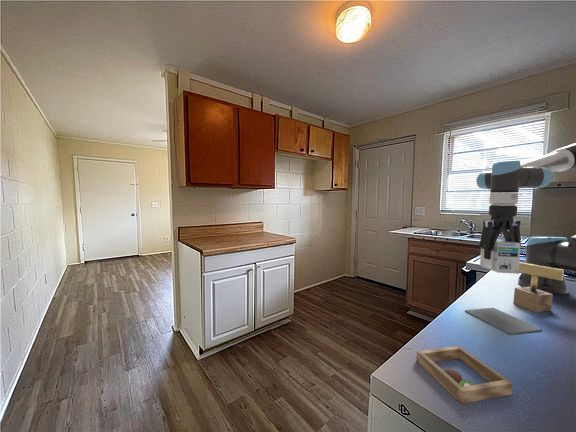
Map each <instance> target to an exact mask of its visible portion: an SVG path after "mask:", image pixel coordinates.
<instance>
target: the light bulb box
mask: <svg viewBox="0 0 576 432" xmlns="http://www.w3.org/2000/svg"><path fill="white" fill-rule="evenodd" d="M492 251H494V265H493V269H490V268H486V267H484V249H481V248H480V260H479V261H480V262H479V266H480V267H482V268H484V269H487V270H490V271H492V272H495V273H497V274H499V273H501V274H502V273H503V274H517V275H519V274H520V272H519V265H520V262H521V261H520V259H521V247H520V243H515V242H510V241H505V239H504V240H503V239H497V240H496V242H495V245H494V247H493V249H492Z"/></svg>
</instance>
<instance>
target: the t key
mask: <svg viewBox="0 0 576 432" xmlns="http://www.w3.org/2000/svg"><path fill="white" fill-rule="evenodd" d="M564 272H565V270H563V269H557V268H551V267H545V266H539V265H534V264H528V263H525V262H521V261H520V265H519V274H520V273H525V274H530V275H532V278H531V287H530V289H531V290H537V282H538V276H540V277H546V278H551V279H556V280H561V281H562V280H563V275H564Z"/></svg>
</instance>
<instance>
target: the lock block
mask: <svg viewBox="0 0 576 432" xmlns="http://www.w3.org/2000/svg"><path fill="white" fill-rule="evenodd" d="M513 293H514V294H513V304H514V305H517V306H519V307H522V308H524V309H527V310H528V311H529V310H530V311H532V312H535V313H539V312H541V313H542V312H549V311H550V312H551V311H552V309H553V307H552V305H553V297H554V294H551V293H548V292H544V291H541V290H538V289H537V290H531V289H530V287H523V286H521V287H514V292H513Z"/></svg>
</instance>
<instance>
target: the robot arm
mask: <svg viewBox="0 0 576 432" xmlns="http://www.w3.org/2000/svg"><path fill="white" fill-rule="evenodd" d="M569 170H576V142H575V143H571V144H569V145H567V146H563V147H560V148H556V149H555V150H552V151H550V152H549V153H548V154H545V155H543V156H539V157H536V158H532V159H528V160H525V161H522V162H521V161H520V160H517V159H515V160H514V159H510V160H508V159H507V160H498V161H495V162H493V164H492V166H491V170H487V171H482V172H480V173H479V174H478V175H477V177H476V186H478V188H479V189H482V190H490V191H489V201H488V202H489V206H488V216H491V218H490V220H484V221H482V232H481V236H480V241H479V245H478V247H479V249H480V250H481V249H484V267H483V268H485V267H486V268H485V269H487V268H490V269H493V265H494V251H492V249H493V247H494V245H495V242H496V240H498V239H499V236H500V234H501V233H502V235H503V239H504V241H510V242H515V243H520V248H521V246H522V242H521V223H522V222H521V220H520V219H518V220H517V219H514V217H516V216H517V215H518V206H517V205H518V204H519V203H518V202H519V201H518V200H519V189H541V188H545V187H547V186H549V184H551V182H552V181H553V174H554V173H553V172H557V173H558V172H560V173H561V172H565V171H569ZM527 240H528V241H527V243H526V253H525V262H524V263H528V264H534V265H539V266H545V267H551V268H557V269H563V270H564V271H567V272H568V271H569V272H571V273H572V272H573V273H576V234H575V235H572V236H570V239H568V237H564V236H530V237H529V238H528V239H527ZM490 269H489V270H490ZM531 278H532V275H530V274H525V273H521V274H520V275H519V277H518V278H517V279H518V280H517V284H518V285H519V286H521V287H531ZM537 289H538V290H541V291H544V292H548V293H551V294H553V295H567V294H568V292H569V287H568V283H567V280H566V277H565V275H564V274H563V280H562V281H561V280H556V279H551V278H546V277H540V276H538V282H537Z"/></svg>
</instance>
